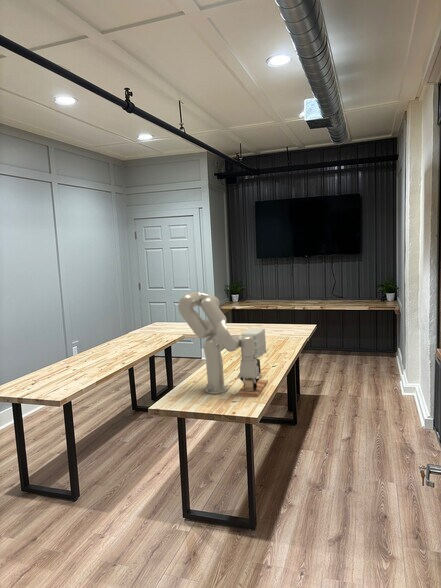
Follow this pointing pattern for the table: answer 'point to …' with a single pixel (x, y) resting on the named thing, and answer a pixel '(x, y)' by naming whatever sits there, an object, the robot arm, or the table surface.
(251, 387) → the block
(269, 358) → the table surface
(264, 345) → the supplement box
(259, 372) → the electronic device
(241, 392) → the board
